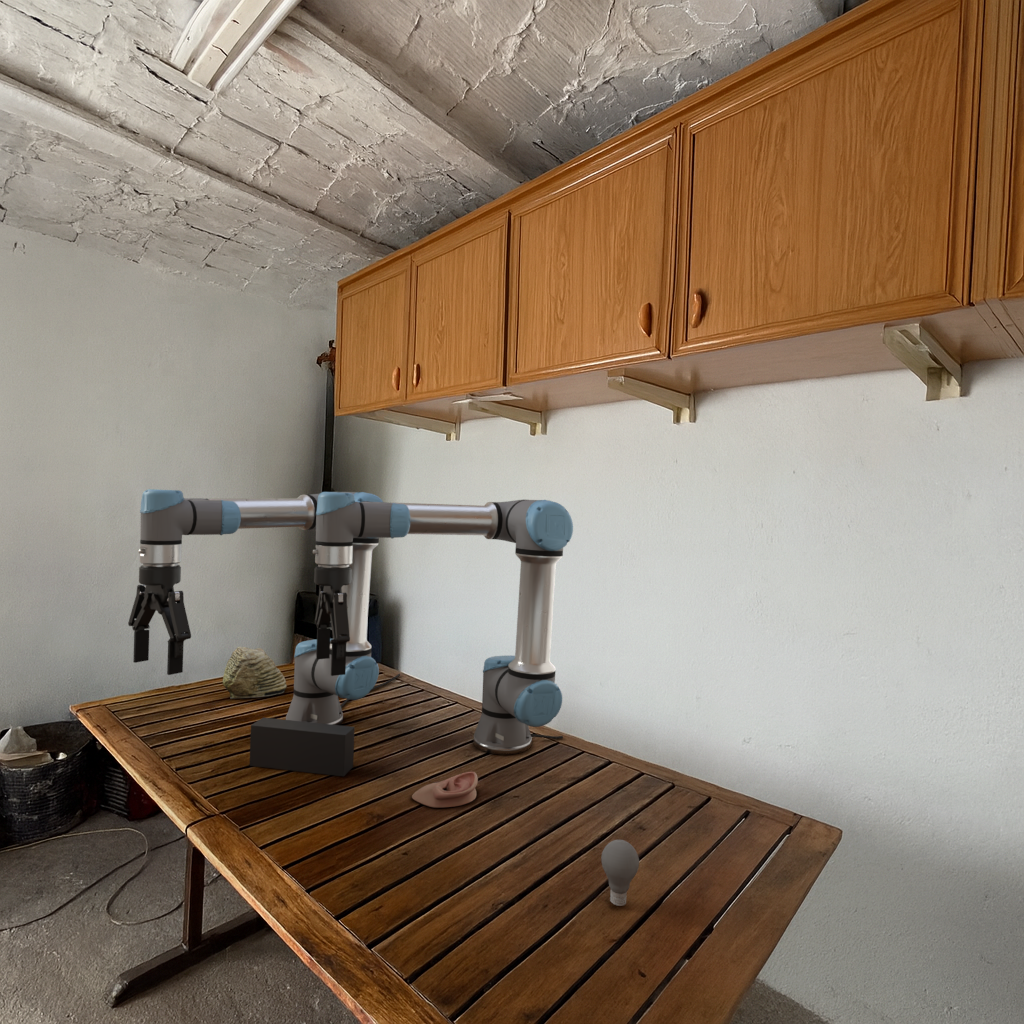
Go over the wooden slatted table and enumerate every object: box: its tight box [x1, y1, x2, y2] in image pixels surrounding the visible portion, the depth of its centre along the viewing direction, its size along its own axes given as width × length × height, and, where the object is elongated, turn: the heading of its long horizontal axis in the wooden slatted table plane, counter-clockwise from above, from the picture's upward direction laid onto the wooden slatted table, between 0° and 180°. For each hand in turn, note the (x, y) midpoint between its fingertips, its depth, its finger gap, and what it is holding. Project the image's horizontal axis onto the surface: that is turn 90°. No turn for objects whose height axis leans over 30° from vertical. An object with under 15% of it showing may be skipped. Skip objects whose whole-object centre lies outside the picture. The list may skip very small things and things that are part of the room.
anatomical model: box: [411, 771, 479, 809], centre depth 136 cm, size 13×4×12 cm
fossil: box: [222, 646, 288, 699], centre depth 198 cm, size 9×18×15 cm, turn 132°
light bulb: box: [600, 839, 640, 907], centre depth 102 cm, size 6×6×10 cm
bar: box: [249, 717, 356, 778], centre depth 148 cm, size 23×5×10 cm, turn 81°
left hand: (157, 667), depth 130 cm, fingers open, 13 cm apart
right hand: (330, 666), depth 133 cm, fingers open, 13 cm apart
